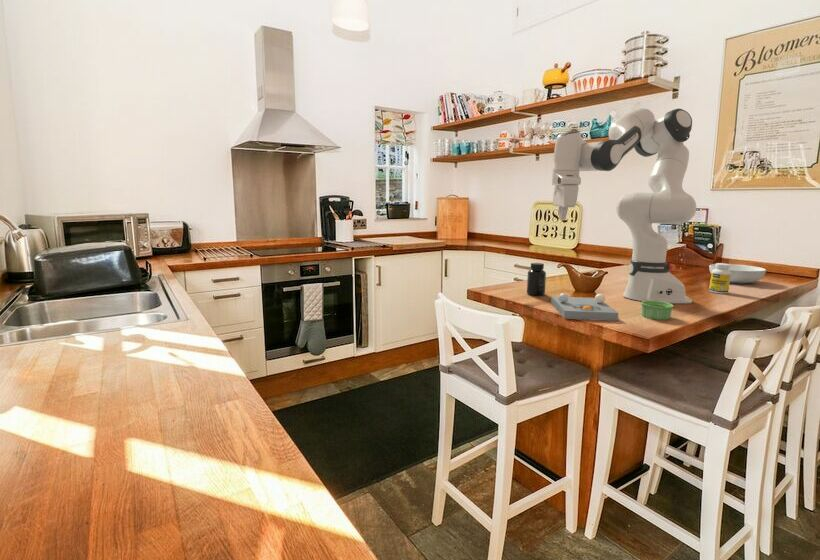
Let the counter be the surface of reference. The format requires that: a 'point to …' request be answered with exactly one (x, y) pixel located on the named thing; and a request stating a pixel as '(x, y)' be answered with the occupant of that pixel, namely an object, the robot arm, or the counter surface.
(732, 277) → the serving bowl
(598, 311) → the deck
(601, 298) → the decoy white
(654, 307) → the ramekin
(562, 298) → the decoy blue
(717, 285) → the pill bottle
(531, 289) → the supplement bottle
